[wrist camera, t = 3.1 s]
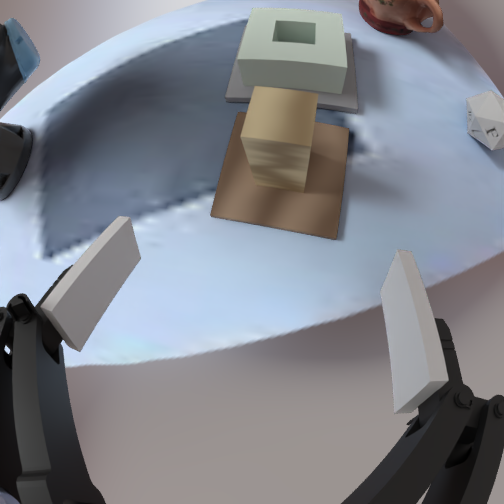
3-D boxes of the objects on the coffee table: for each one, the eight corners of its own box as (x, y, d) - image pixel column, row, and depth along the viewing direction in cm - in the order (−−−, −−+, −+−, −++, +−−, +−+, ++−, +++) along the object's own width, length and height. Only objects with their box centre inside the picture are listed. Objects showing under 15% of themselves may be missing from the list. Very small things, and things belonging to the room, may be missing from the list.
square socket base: (226, 101, 31) (215, 71, 25) (246, 30, 33) (240, 2, 27) (356, 113, 29) (366, 83, 23) (349, 38, 31) (354, 10, 25)
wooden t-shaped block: (212, 217, 30) (173, 180, 19) (239, 116, 31) (220, 53, 20) (334, 240, 28) (362, 212, 17) (347, 132, 29) (368, 71, 18)
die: (446, 107, 28) (473, 108, 20) (481, 83, 24) (512, 81, 16) (472, 154, 30) (502, 168, 22) (505, 130, 25) (538, 139, 17)
